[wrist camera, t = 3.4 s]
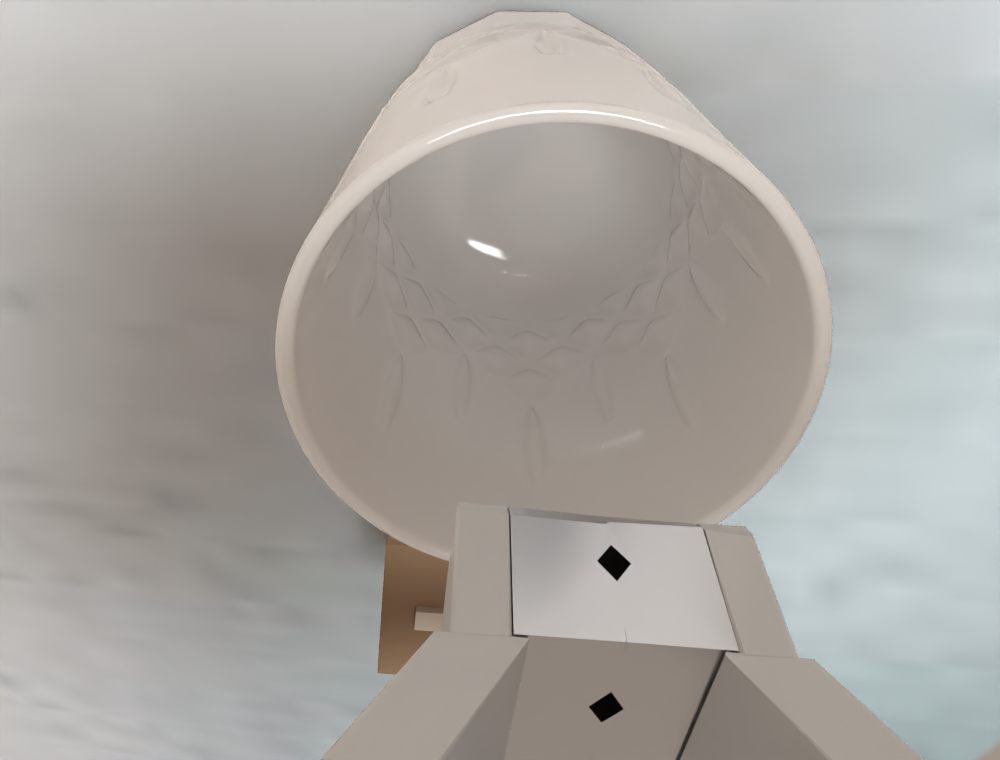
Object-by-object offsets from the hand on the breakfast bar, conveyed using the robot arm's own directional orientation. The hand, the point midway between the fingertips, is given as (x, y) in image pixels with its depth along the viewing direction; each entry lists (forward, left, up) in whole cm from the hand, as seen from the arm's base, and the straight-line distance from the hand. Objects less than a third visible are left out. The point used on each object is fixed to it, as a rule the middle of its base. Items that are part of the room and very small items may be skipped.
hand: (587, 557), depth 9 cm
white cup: (0, 0, -14) cm, 14 cm away
